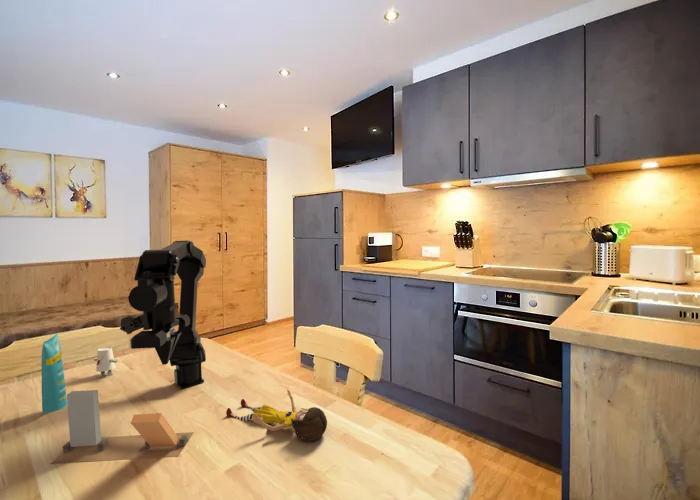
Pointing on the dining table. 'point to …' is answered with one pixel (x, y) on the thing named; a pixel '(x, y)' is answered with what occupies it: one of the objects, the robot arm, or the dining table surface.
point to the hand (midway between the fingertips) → (165, 364)
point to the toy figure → (105, 361)
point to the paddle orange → (155, 429)
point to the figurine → (288, 419)
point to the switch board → (120, 449)
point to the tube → (52, 376)
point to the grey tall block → (84, 418)
